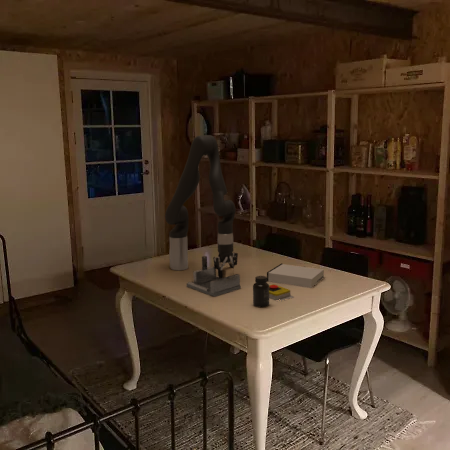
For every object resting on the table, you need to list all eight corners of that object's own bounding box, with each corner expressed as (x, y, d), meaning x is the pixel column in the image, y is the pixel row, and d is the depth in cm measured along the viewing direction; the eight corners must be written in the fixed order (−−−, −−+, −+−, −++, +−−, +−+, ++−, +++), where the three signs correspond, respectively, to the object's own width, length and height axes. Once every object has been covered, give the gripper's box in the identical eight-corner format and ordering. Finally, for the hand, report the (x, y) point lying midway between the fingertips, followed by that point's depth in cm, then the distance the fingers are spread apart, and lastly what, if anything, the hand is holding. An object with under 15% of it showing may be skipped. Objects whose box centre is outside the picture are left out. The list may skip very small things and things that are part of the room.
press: (186, 286, 239) (186, 273, 238) (212, 279, 250) (212, 266, 248) (214, 297, 224) (214, 282, 223) (240, 288, 235) (240, 275, 234)
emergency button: (271, 280, 233) (295, 288, 222) (271, 289, 234) (295, 298, 223) (256, 284, 228) (279, 293, 216) (256, 294, 229) (279, 303, 217)
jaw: (193, 283, 238) (192, 258, 236) (213, 278, 246) (212, 253, 243) (196, 284, 236) (195, 259, 234) (216, 279, 244) (215, 254, 242)
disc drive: (281, 272, 260) (281, 263, 259) (323, 278, 249) (324, 268, 248) (266, 282, 245) (266, 272, 244) (311, 289, 234) (311, 278, 233)
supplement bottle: (268, 301, 218) (268, 274, 215) (270, 307, 211) (270, 279, 209) (252, 302, 218) (252, 275, 215) (253, 307, 211) (253, 280, 208)
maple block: (219, 280, 248) (219, 268, 247) (227, 278, 251) (226, 266, 250) (226, 282, 244) (226, 270, 243) (233, 280, 247) (233, 268, 246)
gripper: (231, 238, 251) (231, 271, 254) (208, 243, 241) (209, 277, 245) (241, 240, 245) (242, 274, 248) (219, 245, 236) (220, 280, 239)
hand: (226, 275), depth 246 cm, fingers open, 6 cm apart
